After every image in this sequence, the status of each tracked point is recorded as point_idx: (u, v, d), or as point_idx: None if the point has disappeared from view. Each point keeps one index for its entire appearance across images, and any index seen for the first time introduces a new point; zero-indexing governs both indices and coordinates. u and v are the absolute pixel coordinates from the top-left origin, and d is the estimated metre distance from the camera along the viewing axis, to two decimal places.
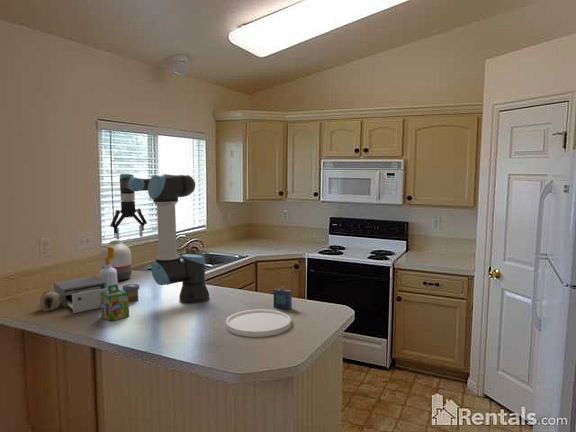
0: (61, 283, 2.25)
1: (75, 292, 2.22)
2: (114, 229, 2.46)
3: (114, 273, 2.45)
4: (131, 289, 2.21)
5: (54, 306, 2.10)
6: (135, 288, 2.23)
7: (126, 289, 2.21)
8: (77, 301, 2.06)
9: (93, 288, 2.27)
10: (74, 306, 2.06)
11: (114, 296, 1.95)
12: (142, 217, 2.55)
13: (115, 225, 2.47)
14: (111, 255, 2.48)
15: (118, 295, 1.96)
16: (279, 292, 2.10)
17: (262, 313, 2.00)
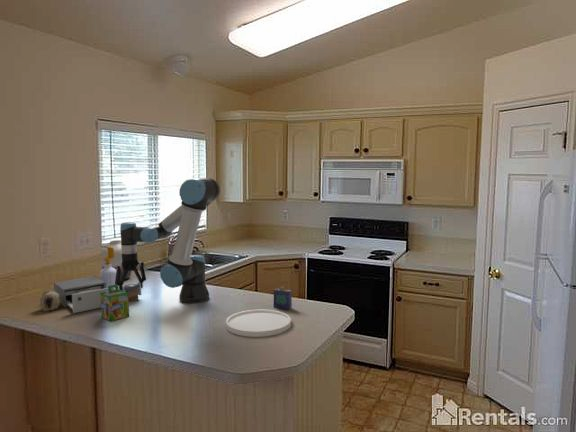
0: (61, 283, 2.25)
1: (75, 292, 2.22)
2: (119, 287, 2.21)
3: (114, 273, 2.45)
4: (131, 289, 2.21)
5: (54, 306, 2.10)
6: (135, 288, 2.23)
7: (126, 289, 2.21)
8: (77, 301, 2.06)
9: (93, 288, 2.27)
10: (74, 306, 2.06)
11: (114, 296, 1.95)
12: (143, 272, 2.27)
13: None
14: (111, 255, 2.48)
15: (118, 295, 1.96)
16: (279, 292, 2.10)
17: (262, 313, 2.00)
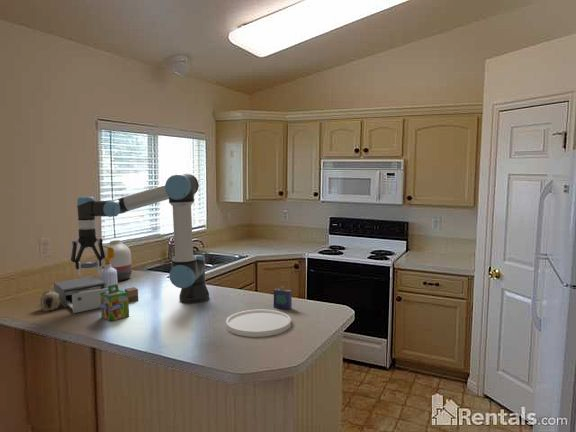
0: (61, 283, 2.25)
1: (75, 292, 2.22)
2: (75, 264, 2.12)
3: (114, 273, 2.45)
4: (88, 266, 2.12)
5: (54, 306, 2.10)
6: (92, 265, 2.13)
7: (82, 266, 2.12)
8: (77, 301, 2.06)
9: (93, 288, 2.27)
10: (74, 306, 2.06)
11: (114, 296, 1.95)
12: (101, 249, 2.18)
13: None
14: (111, 255, 2.48)
15: (118, 295, 1.96)
16: (279, 292, 2.10)
17: (262, 313, 2.00)
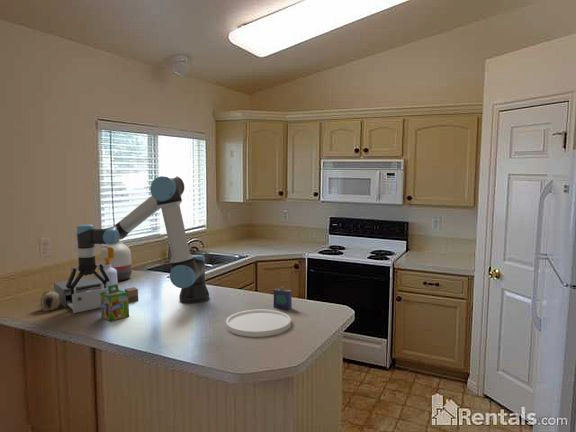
0: (61, 283, 2.25)
1: None
2: (70, 290, 2.11)
3: (114, 273, 2.45)
4: None
5: (54, 306, 2.10)
6: None
7: None
8: (77, 301, 2.06)
9: (93, 288, 2.27)
10: (74, 306, 2.06)
11: (114, 296, 1.95)
12: (104, 274, 2.20)
13: None
14: (111, 255, 2.48)
15: (118, 295, 1.96)
16: (279, 292, 2.10)
17: (262, 313, 2.00)
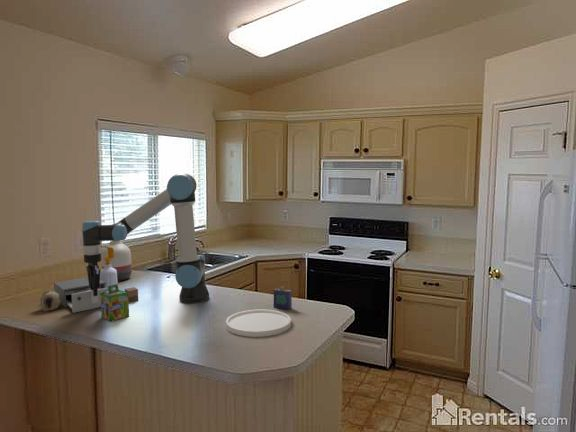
0: (61, 283, 2.25)
1: (75, 292, 2.22)
2: None
3: (114, 273, 2.45)
4: None
5: (54, 306, 2.10)
6: None
7: None
8: (77, 301, 2.07)
9: None
10: (74, 306, 2.06)
11: (114, 296, 1.95)
12: (93, 280, 2.05)
13: None
14: (111, 255, 2.48)
15: (118, 295, 1.96)
16: (279, 292, 2.10)
17: (262, 313, 2.00)
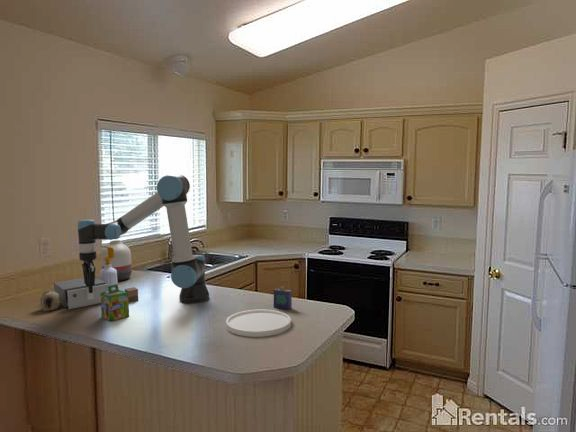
0: (61, 283, 2.25)
1: None
2: None
3: (114, 273, 2.45)
4: None
5: (54, 306, 2.10)
6: None
7: None
8: (72, 298, 2.12)
9: None
10: (69, 302, 2.12)
11: (114, 296, 1.95)
12: (89, 277, 2.10)
13: None
14: (111, 255, 2.48)
15: (118, 295, 1.96)
16: (279, 292, 2.10)
17: (262, 313, 2.00)
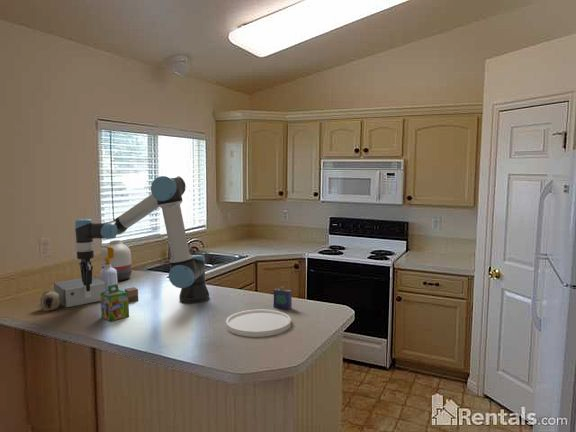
0: (61, 283, 2.25)
1: None
2: None
3: (114, 273, 2.45)
4: None
5: (54, 306, 2.10)
6: None
7: None
8: (70, 296, 2.15)
9: None
10: (67, 301, 2.14)
11: (114, 296, 1.95)
12: (86, 275, 2.13)
13: None
14: (111, 255, 2.48)
15: (118, 295, 1.96)
16: (279, 292, 2.10)
17: (262, 313, 2.00)
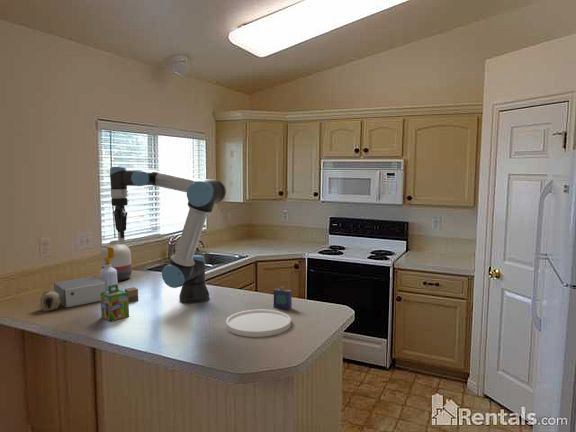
0: (61, 283, 2.25)
1: None
2: None
3: (114, 273, 2.45)
4: None
5: (54, 306, 2.10)
6: None
7: None
8: (70, 296, 2.15)
9: None
10: (67, 301, 2.14)
11: (114, 296, 1.95)
12: (121, 222, 2.17)
13: None
14: (111, 255, 2.48)
15: (118, 295, 1.96)
16: (279, 292, 2.10)
17: (262, 313, 2.00)
